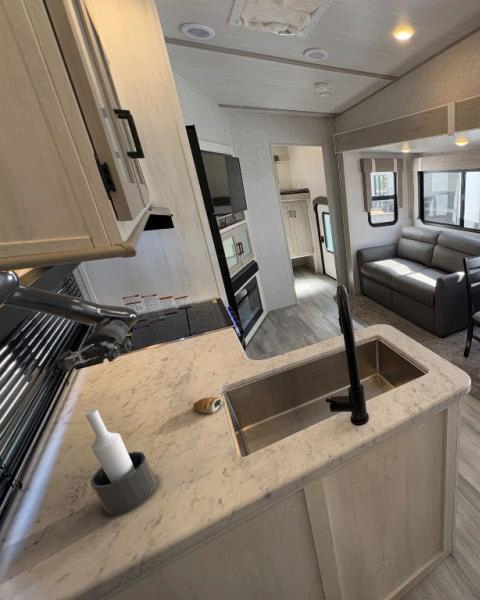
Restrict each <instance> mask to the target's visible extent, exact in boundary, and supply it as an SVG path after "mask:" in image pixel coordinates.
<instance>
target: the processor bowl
mask: <svg viewBox="0 0 480 600" xmlns="http://www.w3.org/2000/svg"><path fill="white" fill-rule="evenodd" d="M128 454H129V457H130V459H131V461H132V464H133V466H134V468H135V470H134V471H133V472H132V473H130V474H129V475H128V476H126V477H125V478H123V479H121V480H119V481H117V482H114V483H112V484H111V482H110V480H109V478H108V477H107V475H106V473H105V471H104V470H103V468H102V466H101V467H100V468H99V469H97V470H96V471H95V473H94V474H93V475H92V477H91V479H90V487H91V488H92V490H93V492H94V493H95V495H96V496H97V498H98V500H99V503H100V504H101V506H102V507H103V509H104V510H105V512H106V513H107V514H109V515H113V516H117V515H122V514H125V513H128V512H129V511H132V510H133V509H136V508H137V507H138V506H140V505H141V504H143V503H144V502H145V501H146V500H147V499H148V498H149V497H150V496H151V495H152V494H153V493H154V492H155V490H156V488H157V483H158V482H157V479H156V477H155V475H154V473H153V470H152V468H151V466H150V463H149V462H148V461H149V460H148V459H147V457H146V455H145V453H144V452H141V451H132V452H128Z"/></svg>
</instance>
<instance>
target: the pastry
mask: <svg viewBox="0 0 480 600" xmlns="http://www.w3.org/2000/svg"><path fill="white" fill-rule="evenodd" d="M223 403H224V399H223V398H222V397H221V396H212V395H210V396H209V397H203V398H201V399H198V400H196V401H195V402H194V403H193V404H192V405H193V409H195V410H196V411H198V412H199V413H202V414H203V413H204V414H213V413H215V412H216V411H217V410H218V409H219V408H220V407H221V406H222V405H223Z"/></svg>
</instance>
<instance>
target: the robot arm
mask: <svg viewBox="0 0 480 600" xmlns="http://www.w3.org/2000/svg"><path fill="white" fill-rule="evenodd" d="M2 305H4V306H10V307H13V308H14V307H15V308H19V309H20V308H21V309H25V310H29V311H34V312H38V313H41V314H45V315H49V316H53V317H56V318H60V319H64V320H66V321H67V320H68V321H71V322H76V323H79V324H83V325H88V326H95V325H98V324H99V323H100V322H102V321H103V322H102V323H101V325H100V326H99V327H98V328H96V329H95V330H94V331H92V333H91V334H90V335H89V336H88V337H87V338H86V340H85V341H84V343H83V347H81V348H80V349H78V350H75V351H72V349H68V350H66V351H64V352H63V353H62V354H61V355H59V356H58V357H57V358H56V359H55V361H56V363H57V364H58V367H59V368H60V369H61V370H62V372H64V373H69V372H71V371H72V369H73V368H74V367H75V366H76V365H78V364H85V363H87V362H88V361H91V360H94V359H96V358H106V359H107V361H108V362H109V363H111V362H114V361H115V360H116V359H117V358H118V357H119V356H121V354H128V353H130V351H131V348H132V346H133V344H132V342H131V340H130V338H129V337H127V336H128V332H129V331H130V329H132V327H133V326H134V325H135V324H136V323H137V322H138V321H139V319H140V315H139V313H138V312H137V311H136V310H134V309H133V308H130V307H127V306H120V305H109V304H100V303H96V302H93V301H90V300H87V299H84V298H81V297H76V296H72V295H67V294H63V293H58V292H53V291H48V290H43V289H41V288H36V287H32V286H29V285H26V284H23V283H21V279H20V276H19V274H18V273H17V272H16V271H15V270H13V271H6V272H0V307H1V306H2Z"/></svg>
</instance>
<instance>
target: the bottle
mask: <svg viewBox="0 0 480 600" xmlns="http://www.w3.org/2000/svg"><path fill="white" fill-rule="evenodd" d="M84 415H85V417H86V419H87V421H88V423H89V425H90V427H91V429H92V430H93V432H94V435H95V440H94V441H93V442H92V444H91V447H90V449H91V450H92V452H93V454H94V456H95V457H96V459H97V461H98V463H99V464H100V466H101V467H102V468H103V470H104V471H105V473H106V475H107V477H108V478H109V480H110V482H111V484H112V483H114V482H117V481H119V480H121V479H123V478H125V477H126V476H128V475H129V474H130V473H132V472H133V471H134V470H135V468H134V466H133V464H132V461H131V459H130V457H129V454H128V453H129V452H128V450H127V448H126V445H125V443H124V441H123V439H122V436H121V434H120V433H119V432H111V431H108V430H107V427H106V426H105V423H104V421H103V419H102V417H101V415H100V413H99V411H98V408H92V409H90V410H88V411H86V412H85V413H84Z"/></svg>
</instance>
